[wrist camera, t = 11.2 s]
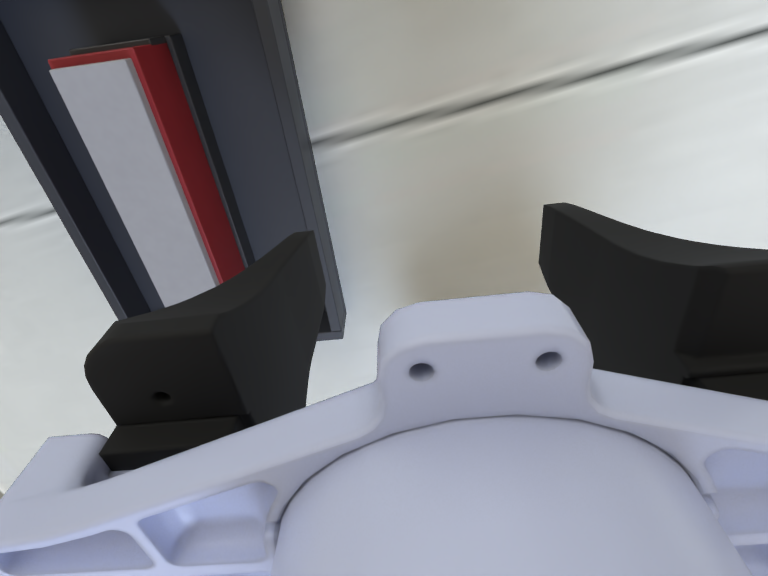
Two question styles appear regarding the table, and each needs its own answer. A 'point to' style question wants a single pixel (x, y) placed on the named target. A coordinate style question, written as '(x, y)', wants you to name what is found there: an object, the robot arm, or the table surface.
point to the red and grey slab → (157, 160)
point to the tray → (225, 112)
